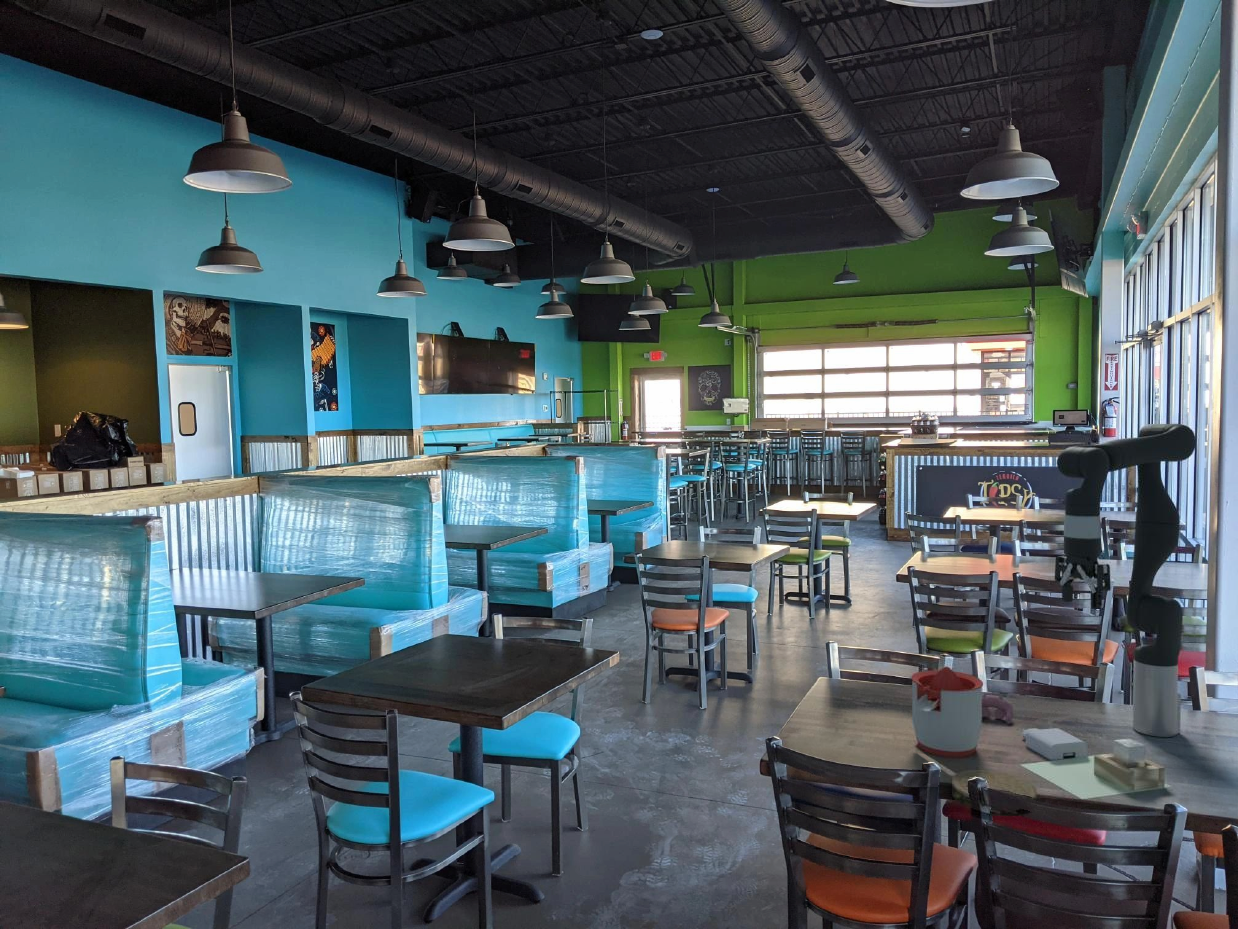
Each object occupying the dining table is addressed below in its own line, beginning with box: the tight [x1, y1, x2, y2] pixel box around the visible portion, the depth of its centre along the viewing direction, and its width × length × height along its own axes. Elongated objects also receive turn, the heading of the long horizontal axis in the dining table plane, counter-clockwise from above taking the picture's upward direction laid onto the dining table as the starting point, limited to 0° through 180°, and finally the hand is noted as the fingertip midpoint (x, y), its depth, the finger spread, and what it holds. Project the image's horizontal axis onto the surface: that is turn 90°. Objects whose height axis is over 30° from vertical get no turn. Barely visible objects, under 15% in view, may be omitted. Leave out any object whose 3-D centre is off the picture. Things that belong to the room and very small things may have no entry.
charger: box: [1021, 727, 1088, 761], centre depth 200 cm, size 5×9×15 cm
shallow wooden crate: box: [1093, 753, 1166, 791], centre depth 180 cm, size 9×9×4 cm
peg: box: [1112, 738, 1146, 769], centre depth 180 cm, size 4×4×8 cm
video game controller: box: [982, 694, 1014, 725], centre depth 221 cm, size 10×5×7 cm, turn 60°
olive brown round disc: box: [951, 769, 1038, 817], centre depth 175 cm, size 16×16×3 cm
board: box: [1020, 753, 1173, 800], centre depth 183 cm, size 22×18×1 cm
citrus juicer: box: [910, 666, 984, 758], centre depth 199 cm, size 16×17×20 cm
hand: (1081, 605), depth 197 cm, fingers open, 8 cm apart
